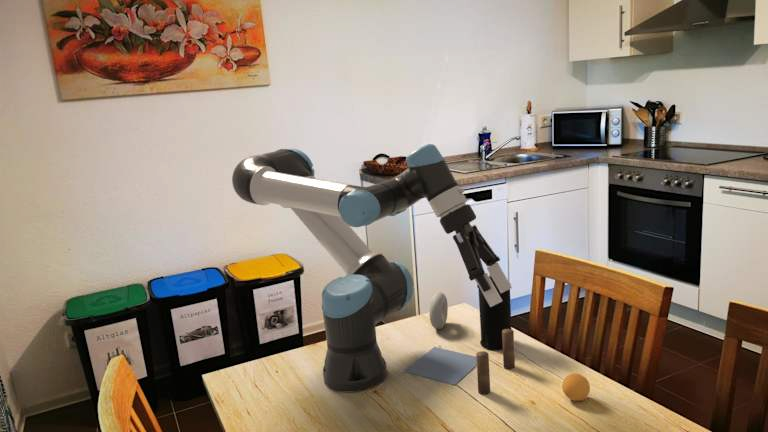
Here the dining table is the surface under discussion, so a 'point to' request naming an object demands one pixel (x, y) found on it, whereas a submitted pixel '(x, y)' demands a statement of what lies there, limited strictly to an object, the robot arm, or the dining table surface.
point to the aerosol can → (494, 319)
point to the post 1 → (483, 372)
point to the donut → (438, 310)
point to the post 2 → (508, 348)
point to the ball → (576, 387)
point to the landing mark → (443, 365)
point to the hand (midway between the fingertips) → (501, 297)
